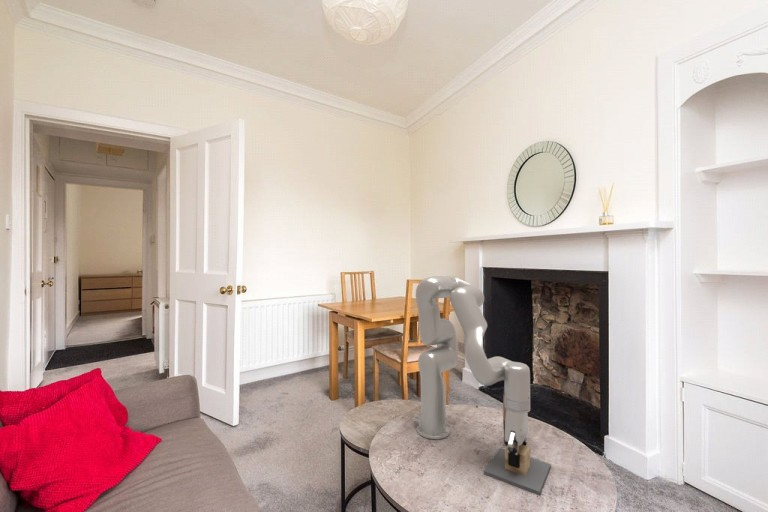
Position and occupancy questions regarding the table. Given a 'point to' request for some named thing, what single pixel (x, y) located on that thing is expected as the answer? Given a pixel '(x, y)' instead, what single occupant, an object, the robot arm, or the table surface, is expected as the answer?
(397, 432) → the table surface
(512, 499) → the table surface
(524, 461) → the oak block
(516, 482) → the charcoal mat
